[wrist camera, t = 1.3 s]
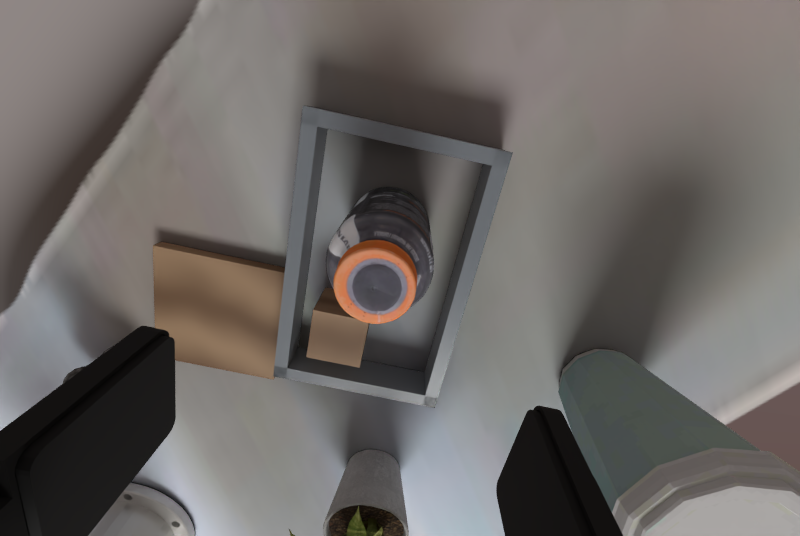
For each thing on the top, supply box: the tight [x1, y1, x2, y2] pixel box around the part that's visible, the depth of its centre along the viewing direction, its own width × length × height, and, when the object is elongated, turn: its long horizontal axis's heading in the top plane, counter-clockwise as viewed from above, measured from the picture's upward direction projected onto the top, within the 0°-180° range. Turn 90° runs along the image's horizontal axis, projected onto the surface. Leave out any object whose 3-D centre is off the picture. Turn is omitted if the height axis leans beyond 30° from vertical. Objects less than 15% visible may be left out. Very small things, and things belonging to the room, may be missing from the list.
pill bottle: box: [326, 187, 434, 324], centre depth 23 cm, size 6×6×11 cm
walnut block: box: [306, 287, 369, 368], centre depth 29 cm, size 4×4×4 cm
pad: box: [153, 242, 285, 380], centre depth 31 cm, size 10×10×1 cm
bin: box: [273, 106, 512, 408], centre depth 28 cm, size 20×13×3 cm, turn 168°
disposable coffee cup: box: [558, 349, 800, 536], centre depth 25 cm, size 11×11×15 cm
